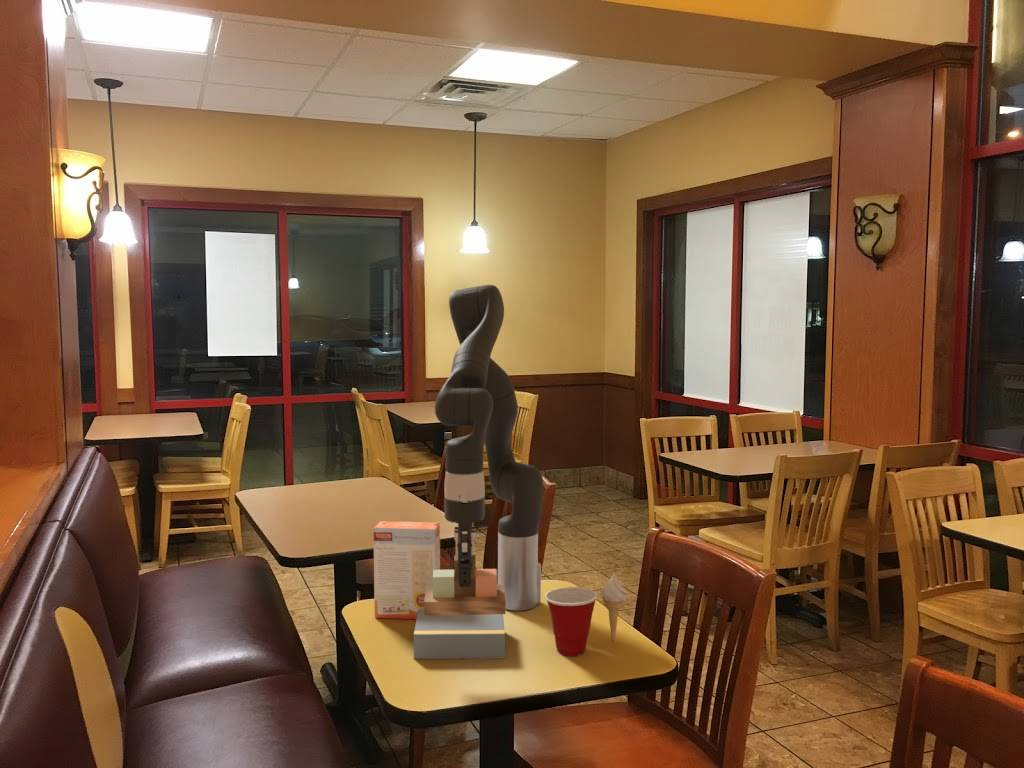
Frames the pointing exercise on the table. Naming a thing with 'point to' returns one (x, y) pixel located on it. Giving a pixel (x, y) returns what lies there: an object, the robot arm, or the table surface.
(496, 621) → the dock
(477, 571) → the block
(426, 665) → the table surface
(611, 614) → the ice cream cone
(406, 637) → the table surface
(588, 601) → the plastic cup
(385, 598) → the cracker box
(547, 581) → the table surface
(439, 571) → the pale green cube
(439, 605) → the pallet
